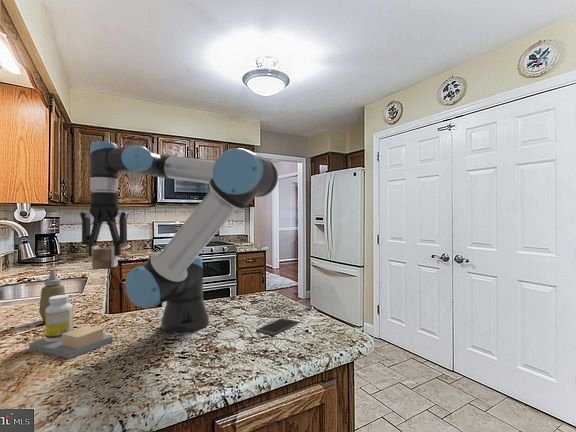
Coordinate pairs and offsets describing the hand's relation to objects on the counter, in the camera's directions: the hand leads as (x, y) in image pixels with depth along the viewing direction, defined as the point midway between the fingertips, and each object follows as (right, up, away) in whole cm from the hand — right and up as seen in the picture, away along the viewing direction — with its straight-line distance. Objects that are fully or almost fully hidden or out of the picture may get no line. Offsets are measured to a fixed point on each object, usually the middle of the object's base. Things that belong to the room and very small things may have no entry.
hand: (105, 266), depth 98 cm
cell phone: (+54, -20, +3) cm, 58 cm away
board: (-4, -21, -9) cm, 23 cm away
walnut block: (0, 0, 0) cm, 0 cm away
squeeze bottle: (-27, -22, +15) cm, 38 cm away
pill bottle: (-9, -20, -6) cm, 23 cm away
